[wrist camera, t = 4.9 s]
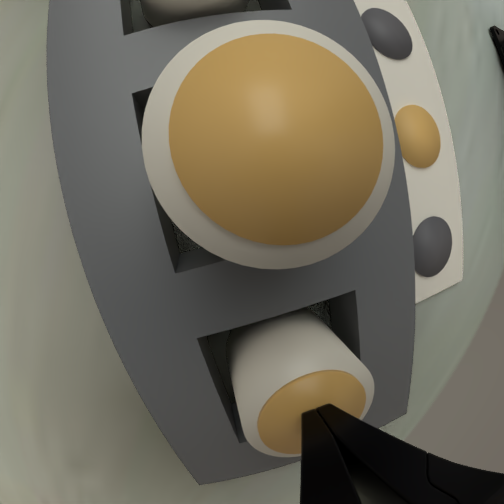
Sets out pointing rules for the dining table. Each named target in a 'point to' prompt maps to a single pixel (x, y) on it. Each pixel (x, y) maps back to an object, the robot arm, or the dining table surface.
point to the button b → (268, 144)
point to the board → (200, 260)
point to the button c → (292, 378)
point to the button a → (187, 9)
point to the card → (420, 143)
